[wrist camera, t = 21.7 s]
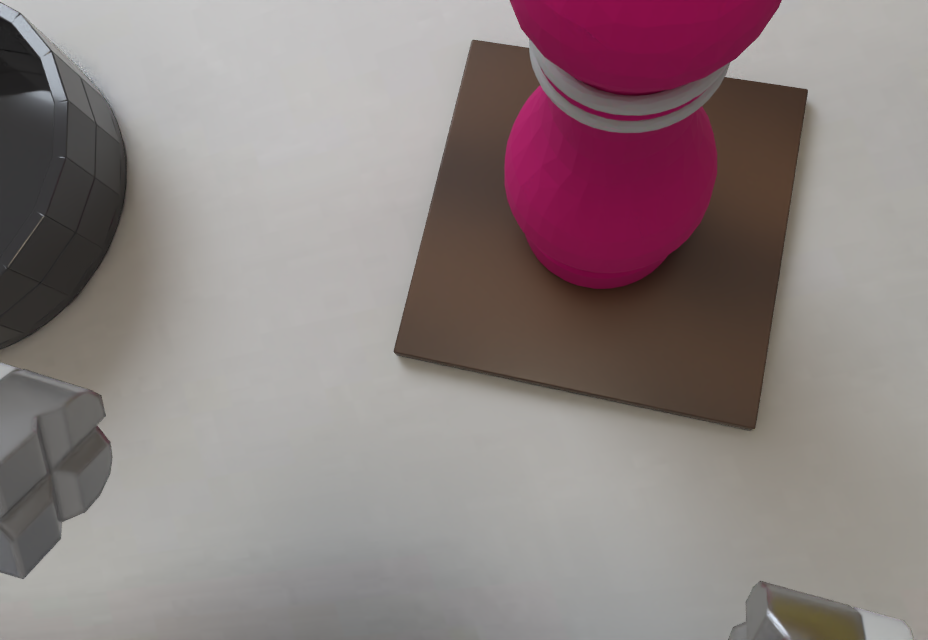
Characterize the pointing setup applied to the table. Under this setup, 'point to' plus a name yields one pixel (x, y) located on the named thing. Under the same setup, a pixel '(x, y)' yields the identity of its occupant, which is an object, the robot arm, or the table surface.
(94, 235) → the pan
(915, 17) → the table surface
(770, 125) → the trivet
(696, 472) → the table surface
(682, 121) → the pepper mill
